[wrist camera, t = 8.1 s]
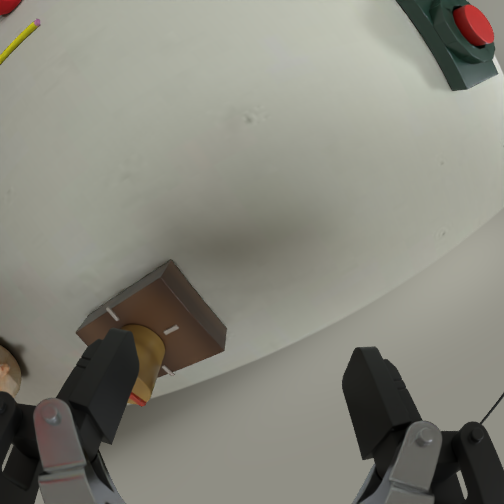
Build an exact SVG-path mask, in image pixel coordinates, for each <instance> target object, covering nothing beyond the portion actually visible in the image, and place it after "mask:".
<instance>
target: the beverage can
mask: <svg viewBox="0 0 504 504" xmlns="http://www.w3.org/2000/svg"><path fill="white" fill-rule="evenodd" d="M21 1H22V0H0V15H3V14H8V13H10V12H12V11H13V10H14V9H15V8H16V7H17V6H18V5H19V3H20V2H21Z"/></svg>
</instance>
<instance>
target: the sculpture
mask: <svg viewBox="0 0 504 504" xmlns="http://www.w3.org/2000/svg"><path fill="white" fill-rule="evenodd" d="M20 384H21V371H20V367H19V365H18V363H17V361H16V359H15V358H14V357H13V356H12V354H11V353H10V352H9V351H8V350H6V349H5V348H4V347H2V346H1V345H0V391H4V392H7V393H9V394H10V395H11V396H12V397H13V398H14V397H15V396H16V394H17V393H18V391H19V389H20Z"/></svg>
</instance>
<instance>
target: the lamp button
mask: <svg viewBox="0 0 504 504" xmlns="http://www.w3.org/2000/svg"><path fill="white" fill-rule="evenodd" d="M453 18H454V21H455V24H456V25H457V27H458V29H459V30H460V32H461V34H462V35H463V36H464V37H465V38H466V40H467V41H468V42H469V43H471V44H472V45H475V46H481V45H485V44H490V43H492V42H493V41H494V33H493V30H492V27H491V25H490V23H489V22H488V20H487V18H486V17H485V16H484V15H483V14H482V12H481V11H480V10H479V9H477V8H476V7H474V6H472V5H465V6H462V7H460V8H458V9H455V10H454V12H453Z"/></svg>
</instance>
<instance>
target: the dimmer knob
mask: <svg viewBox="0 0 504 504" xmlns="http://www.w3.org/2000/svg"><path fill="white" fill-rule="evenodd" d="M121 330H127V331H131V332H132V333H133V336H134V341H135V346H136V350H137V354H138V358H139V374H138V377H137V380H136V382H135V385H134V387H133V390H132V392H131V395H130V397H129V400H128V402H127V403H131V404H138V405H140V406H144V405H146V402H147V401H148V400H149V399H150V397H151V395H152V391H153V388H154V385H155V382H156V379H157V376H158V373H159V370H160V367H161V364H162V361H163V358H164V355H165V346H164V343H163V341H162V340H161V339H160V337H159V336H158V335H157V334H156V333H155V332H153V331H152V330H150V329H148V328H146V327H144V326H141V325H136V324H131V325H126V326H124V327H122V328H121Z"/></svg>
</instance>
